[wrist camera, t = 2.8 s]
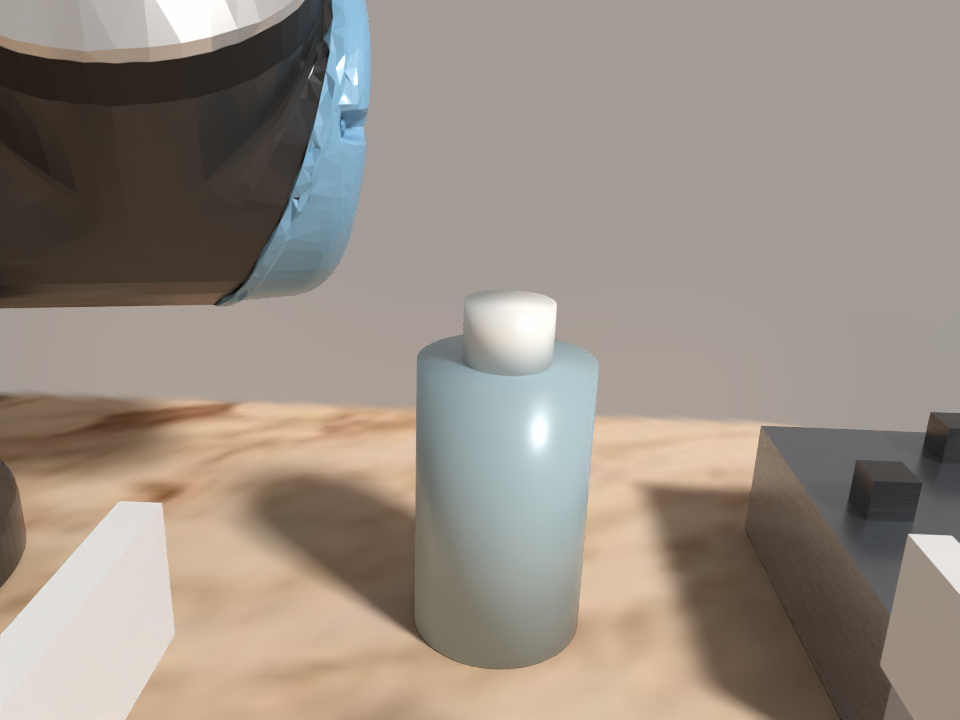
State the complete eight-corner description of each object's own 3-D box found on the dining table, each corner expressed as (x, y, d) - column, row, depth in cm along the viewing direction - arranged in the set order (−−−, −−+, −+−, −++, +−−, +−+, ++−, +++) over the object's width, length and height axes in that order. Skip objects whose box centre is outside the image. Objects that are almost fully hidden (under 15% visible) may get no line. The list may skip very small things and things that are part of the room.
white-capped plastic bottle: (405, 664, 29) (407, 325, 25) (422, 566, 35) (425, 275, 31) (583, 673, 29) (614, 334, 25) (571, 572, 35) (594, 282, 31)
